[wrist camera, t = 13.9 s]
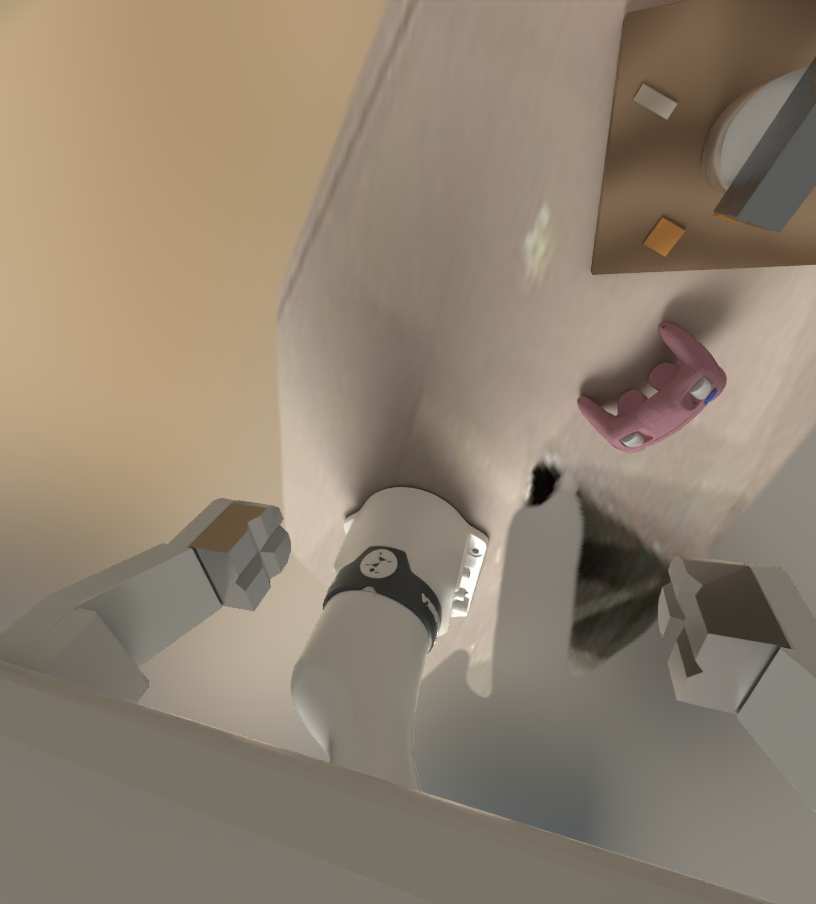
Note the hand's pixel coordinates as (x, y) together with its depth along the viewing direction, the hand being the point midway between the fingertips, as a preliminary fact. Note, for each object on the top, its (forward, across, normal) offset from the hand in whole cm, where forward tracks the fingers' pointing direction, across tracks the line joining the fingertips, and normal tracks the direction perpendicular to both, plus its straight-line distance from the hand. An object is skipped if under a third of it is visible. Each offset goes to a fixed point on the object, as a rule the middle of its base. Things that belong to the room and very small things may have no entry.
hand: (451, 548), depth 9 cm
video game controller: (+31, -10, +9) cm, 34 cm away
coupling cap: (+26, -12, -7) cm, 29 cm away
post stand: (+31, -12, -7) cm, 34 cm away
